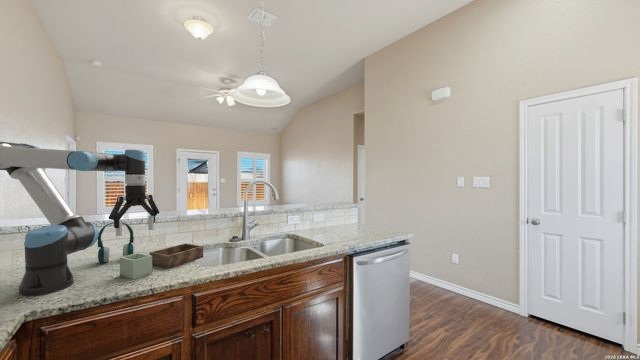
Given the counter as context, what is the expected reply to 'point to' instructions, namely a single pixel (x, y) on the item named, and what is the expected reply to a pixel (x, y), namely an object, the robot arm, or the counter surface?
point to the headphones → (104, 251)
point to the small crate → (135, 265)
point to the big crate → (176, 255)
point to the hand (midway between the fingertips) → (135, 232)
